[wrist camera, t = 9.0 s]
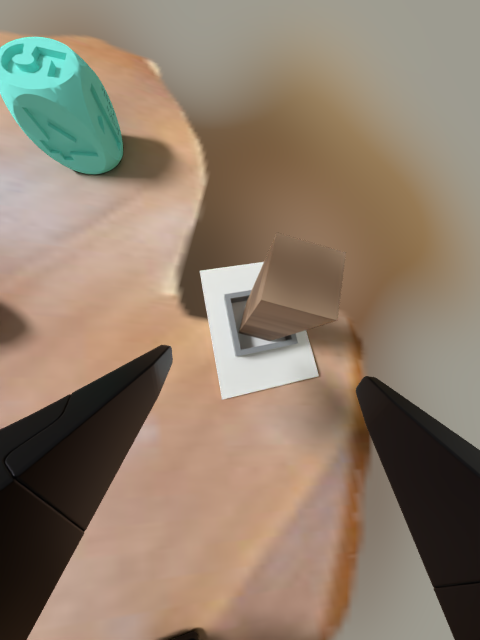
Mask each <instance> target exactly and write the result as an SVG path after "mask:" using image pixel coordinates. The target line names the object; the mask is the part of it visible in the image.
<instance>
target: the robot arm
mask: <svg viewBox="0 0 480 640" xmlns="http://www.w3.org/2000/svg"><path fill="white" fill-rule="evenodd" d="M172 360H173V358H172V348H171V346H167V345H160V346H158V347H157V348H155V349H153V350H151V351H149V352H147V353H145V354H144V355H142V356H140V357H138V358H136V359H134V360H132V361H131V362H129V363H127V364H125V365H123V366H121V367H119V368H118V369H116V370H114V371H112V372H110V373H108V374H106V375H105V376H103V377H101V378H99V379H97V380H95V381H93V382H92V383H90V384H88V385H86V386H84V387H82V388H80V389H79V390H77V391H75V392H73V393H72V394H69V395H67V396H65V397H64V398H62V399H60V400H58V401H56V402H54V403H52V404H50V405H49V406H47V407H45V408H43V409H41V410H39V411H37V412H35V413H33V414H31V415H29V416H27V417H25V418H23V419H21V420H19V421H17V422H15V423H13V424H11V425H9V426H7V427H5V428H2V429H0V640H27V638H28V636H29V634H30V632H31V630H32V629H33V627H34V625H35V623H36V621H37V619H38V617H39V616H40V614H41V612H42V610H43V608H44V606H45V605H46V603H47V601H48V599H49V597H50V595H51V594H52V592H53V590H54V588H55V586H56V584H57V582H58V581H59V579H60V577H61V575H62V573H63V571H64V570H65V568H66V566H67V564H68V562H69V560H70V558H71V557H72V555H73V553H74V551H75V549H76V547H77V546H78V544H79V542H80V540H81V538H82V536H83V534H84V531H85V530H86V529H87V527H88V525H89V523H90V521H91V519H92V518H93V516H94V514H95V512H96V510H97V508H98V507H99V505H100V503H101V501H102V499H103V497H104V495H105V494H106V492H107V490H108V488H109V486H110V484H111V483H112V481H113V479H114V477H115V475H116V473H117V472H118V470H119V468H120V466H121V464H122V462H123V460H124V459H125V457H126V455H127V453H128V451H129V449H130V448H131V446H132V444H133V442H134V440H135V438H136V437H137V435H138V433H139V431H140V429H141V427H142V425H143V424H144V422H145V420H146V418H147V416H148V414H149V413H150V411H151V409H152V407H153V405H154V403H155V402H156V400H157V398H158V396H159V394H160V391H161V389H162V387H163V384H164V382H165V379H166V377H167V374H168V372H169V370H170V367H171V365H172ZM356 394H357V397H358V400H359V404H360V407H361V410H362V413H363V417H364V420H365V423H366V426H367V429H368V431H369V434H370V436H371V438H372V441H373V443H374V446H375V448H376V450H377V453H378V455H379V458H380V460H381V462H382V465H383V467H384V469H385V472H386V475H387V477H388V479H389V482H390V484H391V486H392V489H393V491H394V494H395V496H396V498H397V501H398V503H399V506H400V508H401V511H402V513H403V515H404V518H405V520H406V523H407V525H408V528H409V530H410V532H411V535H412V537H413V540H414V542H415V544H416V547H417V549H418V552H419V554H420V557H421V559H422V561H423V564H424V566H425V569H426V571H427V573H428V576H429V578H430V580H431V583H432V585H433V587H434V591H435V593H436V596H437V598H438V600H439V603H440V605H441V608H442V610H443V612H444V615H445V617H446V620H447V622H448V625H449V627H450V629H451V632H452V634H453V637H454V639H455V640H480V450H479V449H477V448H476V447H474V446H473V445H472V444H470V443H469V442H467V441H466V440H464V439H463V438H461V437H460V436H459V435H457V434H456V433H454V432H453V431H451V430H450V429H449V428H447V427H446V426H444V425H443V424H441V423H440V422H439V421H437V420H436V419H434V418H433V417H431V416H430V415H428V414H427V413H426V412H424V411H423V410H421V409H420V408H419V407H417V406H416V405H414V404H413V403H411V402H410V401H409V400H407V399H405V398H404V397H403V396H401V395H400V394H398V393H397V392H396V391H394V390H393V389H391V388H390V387H388V386H387V385H386V384H384V383H383V382H381V381H380V380H378V379H377V378H375V377H369V376H365V377H364V378H363V379H362V380H361V382H360V383H359V385H358V386H357V388H356ZM173 640H199V639H198V634H197V633H196V632H195V631H192V632H189V633H187V634H185V635H182V636H180V637H177V638H175V639H173Z"/></svg>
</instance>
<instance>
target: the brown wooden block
mask: <svg viewBox="0 0 480 640" xmlns="http://www.w3.org/2000/svg"><path fill="white" fill-rule="evenodd" d="M345 255H346V252H343V251H339V250H336V249H332V248H329V247H325V246H322V245H319V244H315V243H312V242H308V241H305V240H301V239H298V238H294V237H291V236H288V235H284V234H281V233H276V236H275V238H274V240H273V243H272V245H271V247H270V250H269V252H268V254H267V256H266V259H265V261H264V263H263V265H262V268H261V270H260V272H259V275H258V277H257V279H256V281H255V284H254V286H253V288H252V291H251V293H250V295H249V297H248V300H247V302H246V305H245V309H244V313H243V317H242V321H241V325H240V329H239V333H240V334H244V335H248V336H251V337H255V338H259V339H263V340H267V341H272V340H275V339H279V338H282V337H285V336H288V335H292V334H295V333H298V332H301V331H305V330H308V329H311V328H315V327H318V326H321V325H324V324H328V323H331V322H334V321H337V320H338V312H339V303H340V295H341V287H342V279H343V271H344V263H345Z"/></svg>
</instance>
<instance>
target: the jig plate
mask: <svg viewBox="0 0 480 640" xmlns="http://www.w3.org/2000/svg"><path fill="white" fill-rule="evenodd" d="M263 263H264V262H260V263H253V264H246V265H239V266H232V267H224V268H217V269H210V270H203V271H200V275H201V280H202V287H203V292H204V298H205V304H206V310H207V315H208V321H209V327H210V333H211V338H212V344H213V350H214V356H215V361H216V367H217V373H218V379H219V384H220V390H221V396H222V399H226V398H231V397H235V396H239V395H243V394H247V393H251V392H255V391H259V390H264V389H268V388H272V387H276V386H280V385H284V384H288V383H292V382H296V381H301V380H305V379H309V378H313V377H317V376H319V375H318V371H317V368H316V364H315V360H314V357H313V353H312V350H311V346H310V342H309V339H308V335H307V332H306V330H305V331H301V332H298V333H295V334H292V335H288V336H285V337H282V338H279V339H275V340H272V341H267V340H263V339H259V338H255V337H251V336H248V335H244V334H240V333H239V329H240V325H241V321H242V317H243V313H244V309H245V305H246V302H247V300H248V297H249V295H250V293H251V291H252V288H253V286H254V284H255V281H256V279H257V277H258V275H259V272H260V270H261V268H262V265H263Z"/></svg>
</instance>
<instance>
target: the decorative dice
mask: <svg viewBox="0 0 480 640" xmlns="http://www.w3.org/2000/svg"><path fill="white" fill-rule="evenodd" d="M0 94H1V96H2V98H3V100H4V102H5V104H6V106H7V108H8V109H9V111H10V113H11V114H12V116H13V117H14V119H15V120H16V122H17V123H18V125H19V126H20V127H21V129H22V130H23V131H24V132H25V134H26V135H27V136H28V137H29V138H30V139H31V140H32V141H33V142H34V143H35V144H36V145H37V146H38V147H39V148H40V149H41V150H42V151H44V152H45V153H46V154H47V155H49V156H50V157H51V158H53V159H54V160H56V161H57V162H59V163H61V164H62V165H64V166H66V167H68V168H70V169H73V170H75V171H78V172H81V173H85V174H101V173H105V172H108V171H110V170H112V169H113V168H115V167H116V166H117V165H118V164H119V162H120V160H121V158H122V156H123V143H122V136H121V131H120V127H119V124H118V120H117V117H116V114H115V111H114V109H113V106H112V103H111V101H110V99H109V96H108V94H107V92H106V90H105V88H104V86H103V85H102V83H101V81H100V79H99V78H98V76H97V75H96V74H95V72H94V71H93V70H92V69H91V68H90V67H89V66H88V64H87V63H86V62H85V61H84V60H83V59H82V58H81V57H80V56H78V55H77V54H76V53H75V52H74V51H73V50H71V49H70V48H69V47H68V46H66V45H65V44H63V43H61V42H59V41H56V40H53V39H49V38H44V37H25V38H20V39H16V40H13V41H10V42H8V43H6V44H5V45H3V46H2V47H0Z"/></svg>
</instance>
